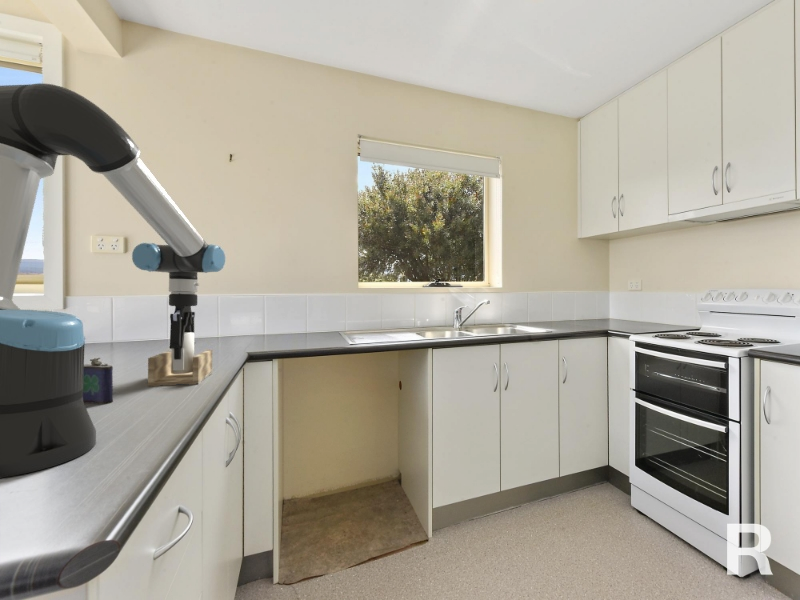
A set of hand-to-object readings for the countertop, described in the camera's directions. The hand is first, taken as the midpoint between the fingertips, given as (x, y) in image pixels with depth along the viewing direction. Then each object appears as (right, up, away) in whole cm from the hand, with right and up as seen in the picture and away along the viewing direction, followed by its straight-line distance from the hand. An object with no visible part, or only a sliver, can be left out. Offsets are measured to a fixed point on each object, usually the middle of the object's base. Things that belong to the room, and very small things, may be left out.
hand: (182, 367), depth 107 cm
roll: (0, -1, 0) cm, 1 cm away
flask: (-7, -4, -23) cm, 25 cm away
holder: (0, -4, 0) cm, 4 cm away
